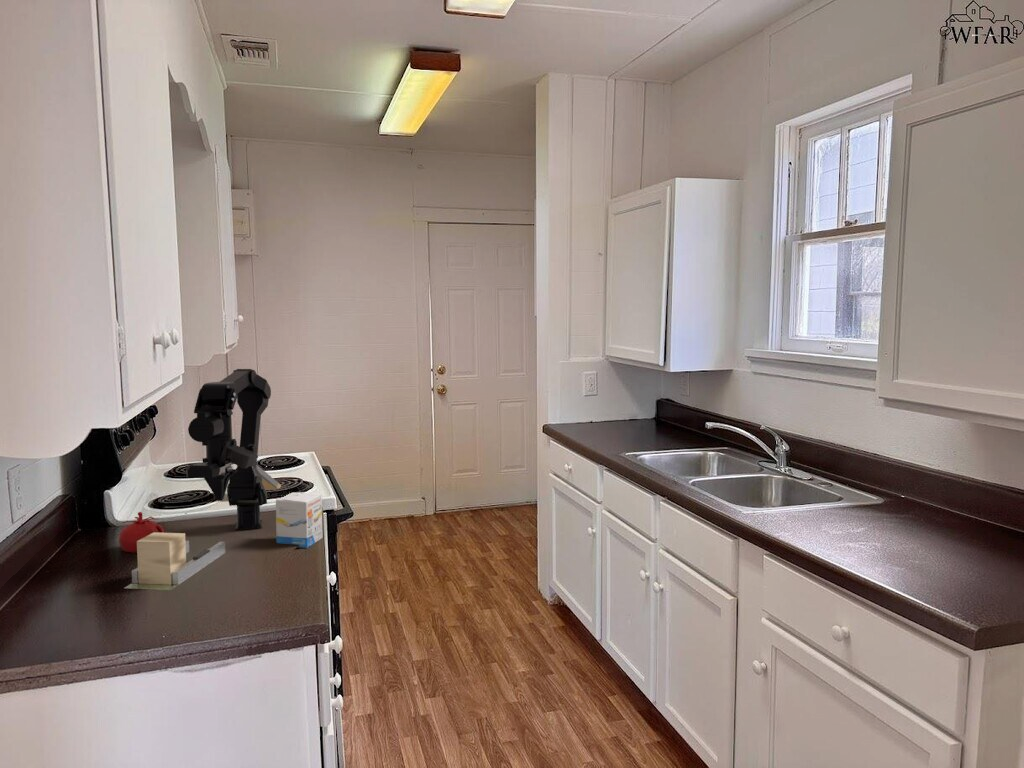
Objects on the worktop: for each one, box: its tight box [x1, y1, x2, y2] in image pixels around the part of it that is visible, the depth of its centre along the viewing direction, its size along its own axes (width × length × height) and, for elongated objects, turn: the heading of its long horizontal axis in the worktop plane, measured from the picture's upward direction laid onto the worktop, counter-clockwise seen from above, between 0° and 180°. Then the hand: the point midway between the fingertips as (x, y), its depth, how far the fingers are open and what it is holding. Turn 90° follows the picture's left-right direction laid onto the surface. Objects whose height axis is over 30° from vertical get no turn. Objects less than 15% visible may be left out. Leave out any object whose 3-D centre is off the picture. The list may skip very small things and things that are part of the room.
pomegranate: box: [118, 511, 165, 554], centre depth 167 cm, size 10×10×9 cm
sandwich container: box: [236, 464, 282, 490], centre depth 219 cm, size 9×15×15 cm, turn 110°
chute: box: [124, 539, 226, 591], centre depth 154 cm, size 26×14×4 cm, turn 176°
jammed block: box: [136, 532, 187, 585], centre depth 147 cm, size 6×7×9 cm
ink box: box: [275, 491, 323, 549], centre depth 174 cm, size 9×8×12 cm
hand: (220, 500), depth 167 cm, fingers closed
